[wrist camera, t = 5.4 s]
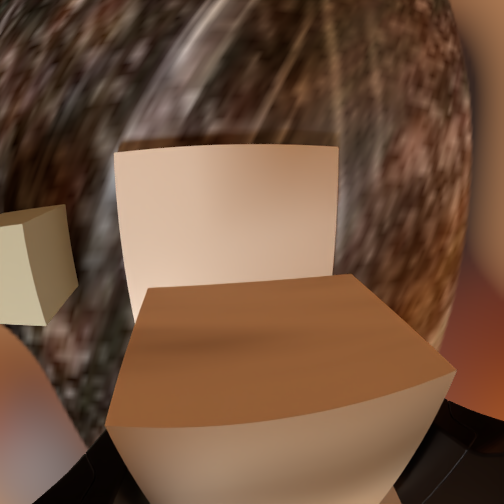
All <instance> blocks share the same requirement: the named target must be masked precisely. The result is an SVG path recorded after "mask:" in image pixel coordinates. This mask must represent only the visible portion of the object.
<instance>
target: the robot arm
mask: <svg viewBox="0 0 504 504" xmlns="http://www.w3.org/2000/svg"><path fill="white" fill-rule="evenodd" d="M86 454H87V455H86ZM86 454H84V455H83V456H82V457H81V458H80V460H79V461H78V462H77V463H76V464H75V465H74V466H73V467H72V468H71V470H69V472H68V473H67V474H65V475H64V476H63V477H62V478H61V479H60V480H59V481H58V482H57V483H56V484H55V485H54V486H52V487H51V488H50V489H49V490H48V491H47V492H45V493H44V494H43V495H42V496H41V497H40V498H38V499H37V500H36V501H35V502H34V503H32V504H150V502H149V501H148V499H147V498H146V496H145V495H144V493H143V492H142V490H141V489H140V487H139V486H138V484H137V483H136V481H135V479H134V478H133V476H132V474H131V473H130V471H129V469H128V468H127V466H126V464H125V463H124V461H123V459H122V457H121V456H120V454H119V452H118V450H117V448H116V446H115V445H114V443H113V441H112V439H111V437H110V435H109V433H108V431H107V429H106V430H105V431H104V432H103V433H102V434H101V435H100V437H99V438H98V439H97V440H96V441H95V442H94V444H93V445H92V446H91V447H90V448H89V449H88V450H87V452H86ZM393 487H394V489H395V491H396V493H397V495H398V497H399V499H400V501H401V504H504V421H502V420H499V419H495V418H492V417H489V416H486V415H483V414H480V413H477V412H475V411H472V410H470V409H467V408H465V407H462V406H460V405H458V404H455V403H453V402H451V401H447V399H445V398H444V400H443V402H442V404H441V406H440V408H439V410H438V412H437V414H436V416H435V418H434V420H433V422H432V424H431V425H430V427H429V429H428V431H427V433H426V434H425V436H424V438H423V440H422V441H421V443H420V445H419V446H418V448H417V450H416V451H415V453H414V455H413V456H412V458H411V459H410V461H409V463H408V464H407V466H406V467H405V469H404V470H403V472H402V473H401V475H400V476H399V478H398V479H397V480H396V482H395V483H394V485H393Z"/></svg>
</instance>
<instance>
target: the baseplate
mask: <svg viewBox="0 0 504 504" xmlns="http://www.w3.org/2000/svg"><path fill="white" fill-rule="evenodd" d="M338 156H339V147H332V146H313V145H284V144H231V145H202V146H183V147H168V148H156V149H145V150H135V151H126V152H117V153H114V166H115V183H116V196H117V208H118V218H119V227H120V236H121V244H122V251H123V258H124V265H125V272H126V278H127V284H128V290H129V295H130V301H131V306H132V311H133V316H134V321H135V323H136V320H137V317H138V314H139V311H140V308H141V306H142V303H143V300H144V297H145V295H146V292H147V289H148V288H155V287H176V286H194V285H211V284H227V283H242V282H256V281H270V280H283V279H296V278H308V277H320V276H331V275H332V273H333V261H334V248H335V233H336V216H337V194H338Z"/></svg>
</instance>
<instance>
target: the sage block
mask: <svg viewBox="0 0 504 504" xmlns="http://www.w3.org/2000/svg"><path fill="white" fill-rule="evenodd" d="M77 287H78V280H77V275H76V270H75V265H74V260H73V254H72V249H71V243H70V236H69V230H68V222H67V215H66V206H65V204H63V205H55V206H47V207H40V208H33V209H26V210H20V211H13V212H7V213H3V214H0V324H15V325H35V326H47V325H48V323H49V322H50V321H51V319H52V318H53V317H54V315H55V314H56V313H57V312H58V310H59V309H60V308H61V306H62V305H63V304H64V303H65V301H66V300H67V299H68V298H69V296H70V295H71V294H72V293H73V291H74V290H75V289H76V288H77Z"/></svg>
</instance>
